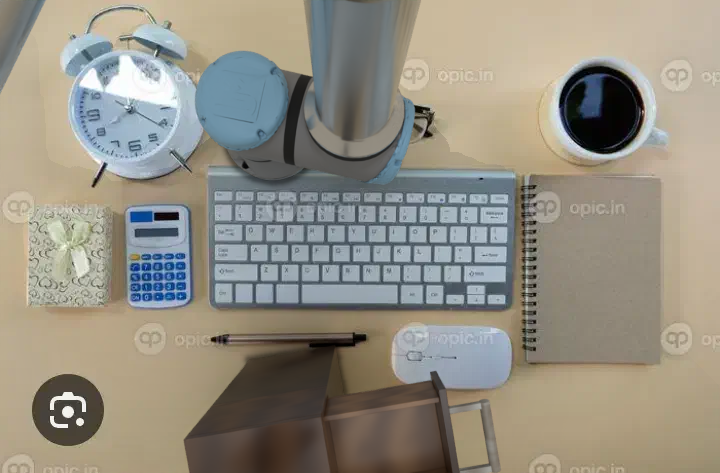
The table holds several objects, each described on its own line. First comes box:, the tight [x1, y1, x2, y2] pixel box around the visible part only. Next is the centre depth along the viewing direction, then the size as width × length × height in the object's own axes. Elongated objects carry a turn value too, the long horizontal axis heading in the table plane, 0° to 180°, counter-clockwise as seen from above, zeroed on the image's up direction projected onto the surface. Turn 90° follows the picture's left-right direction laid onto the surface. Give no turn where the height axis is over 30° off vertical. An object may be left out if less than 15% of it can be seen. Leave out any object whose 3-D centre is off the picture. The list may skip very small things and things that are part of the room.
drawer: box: [323, 370, 502, 473], centre depth 54 cm, size 19×13×7 cm
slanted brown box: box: [183, 344, 345, 473], centre depth 64 cm, size 15×13×30 cm
